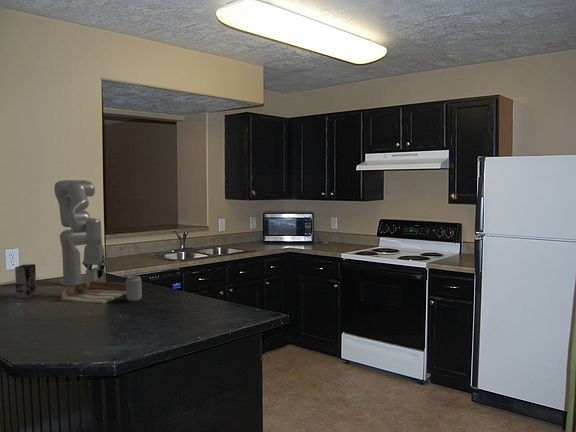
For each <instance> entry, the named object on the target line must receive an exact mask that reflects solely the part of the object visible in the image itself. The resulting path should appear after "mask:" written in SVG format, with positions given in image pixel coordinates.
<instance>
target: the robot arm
mask: <svg viewBox="0 0 576 432" xmlns="http://www.w3.org/2000/svg"><path fill="white" fill-rule="evenodd" d="M53 191H54V195H55V199H56V200H57V203H58V206H59V207H58V208H59V217H60V224H61V226H62V227H64V228H70V229H66V230H63V231H61V233H59V234H60V235H59V239H60V241H59V242H60V245H61V254H62V255H61V256H62V278H63V279H62V281H60V285H61V286H69V287H70V286H77V285H80V284H83V283H85V280H84V278H86V273H85V274H82V270H81V269H82V267H81V265H83V266H84V267H85V268H86V270H89V269H93V266H96V267H98V269H99V270H98V278H100V277H102V275H103V269H105V267H106V266H107V265H108V264H109V263H108V261H107V260H106V255H105V248H104V246H103V245H104V244H103V243H102V240H103V239H102V222H101V220H100V219H97V218H95V217H94V218H93V217H91V216H90V213H89V212H88V211H86V209H88V207H89V205H90V203H89V200H88V197H93V196H94V195H95V193H96V190H95V186H94V184H93V183H92V182H91V181H88V180H79V179H78V180H77V179H76V180H73V179H72V180H70V179H69V180H67V179H66V180H65V179H64V180H59V181H57V182H56V183H55V184H54V189H53ZM76 246H84V251H83V261H81V252H80V251H79V249H78V248H77V247H76ZM81 262H82V263H81ZM100 279H101V278H100Z"/></svg>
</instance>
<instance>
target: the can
mask: <svg viewBox="0 0 576 432" xmlns="http://www.w3.org/2000/svg"><path fill="white" fill-rule="evenodd" d="M125 283H126V294H125V295H126V297H125V298H126V300H127V301H128V302H138V301H141V299H142V298H143V292H142V289H143V288H142V285H143V284H142V277H141V276H140V275H128V276H127V277H126V279H125Z"/></svg>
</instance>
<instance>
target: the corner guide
mask: <svg viewBox="0 0 576 432" xmlns="http://www.w3.org/2000/svg"><path fill="white" fill-rule="evenodd" d="M59 295H60V301H61V302H69V303H70V302H72V303H73V302H74V303H87V304H89V303H90V304H106V303H107V302H110V301H112V300H115V299H117V298H120V297H122V296H124V295H126V282H110V281H108V282H105V281H91V280H88V281H87V282H84V283H82V284H79V285H73V286H72V287H69V288H66V289H62V290H60V294H59Z"/></svg>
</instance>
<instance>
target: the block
mask: <svg viewBox="0 0 576 432" xmlns="http://www.w3.org/2000/svg"><path fill="white" fill-rule="evenodd" d="M98 270H99V269H98V266H96V267H92V269H89V270H87V269H86V270H85V280H86V281H97V280H100V279H103V278H105V277H106V276H105V275H106V273H105V268H104V269H103V275H102V277H100V278H98Z"/></svg>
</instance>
